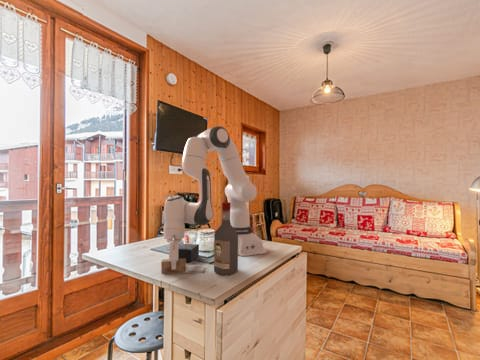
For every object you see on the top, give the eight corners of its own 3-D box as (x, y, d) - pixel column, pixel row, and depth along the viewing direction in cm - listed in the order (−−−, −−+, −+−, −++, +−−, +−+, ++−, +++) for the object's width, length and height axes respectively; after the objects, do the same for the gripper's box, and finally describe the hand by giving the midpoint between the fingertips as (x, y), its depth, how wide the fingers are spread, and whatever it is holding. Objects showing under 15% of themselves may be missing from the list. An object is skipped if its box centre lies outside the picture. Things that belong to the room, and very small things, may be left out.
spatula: (160, 274, 103) (160, 262, 103) (162, 269, 109) (163, 258, 109) (204, 272, 106) (204, 260, 106) (203, 267, 112) (204, 256, 112)
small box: (171, 261, 120) (191, 262, 118) (171, 248, 120) (191, 249, 118) (180, 255, 130) (199, 256, 128) (180, 242, 130) (199, 243, 128)
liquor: (225, 266, 113) (225, 201, 113) (240, 270, 108) (241, 202, 108) (210, 271, 106) (211, 202, 106) (226, 277, 101) (227, 204, 101)
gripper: (182, 238, 97) (181, 273, 97) (181, 228, 117) (181, 257, 117) (165, 239, 96) (165, 274, 96) (167, 229, 116) (167, 258, 116)
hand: (174, 265), depth 107 cm, fingers open, 8 cm apart
